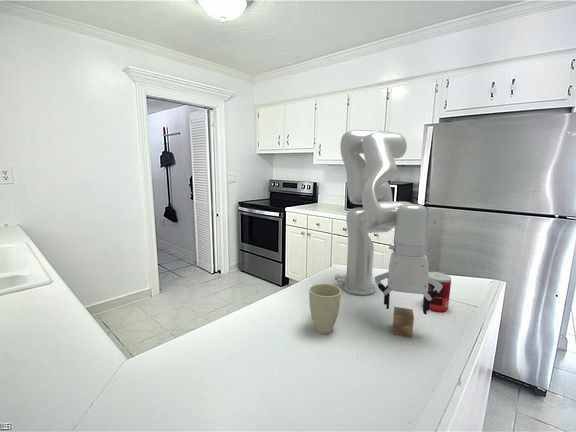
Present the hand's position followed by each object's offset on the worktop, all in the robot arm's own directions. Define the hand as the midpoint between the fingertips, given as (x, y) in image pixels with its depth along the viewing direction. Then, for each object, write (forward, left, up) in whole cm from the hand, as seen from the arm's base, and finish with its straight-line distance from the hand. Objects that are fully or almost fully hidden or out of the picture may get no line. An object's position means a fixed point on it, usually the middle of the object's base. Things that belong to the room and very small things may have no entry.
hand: (405, 309), depth 81 cm
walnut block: (0, +1, -7) cm, 7 cm away
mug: (-22, -5, -7) cm, 24 cm away
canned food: (+11, +21, -7) cm, 24 cm away
